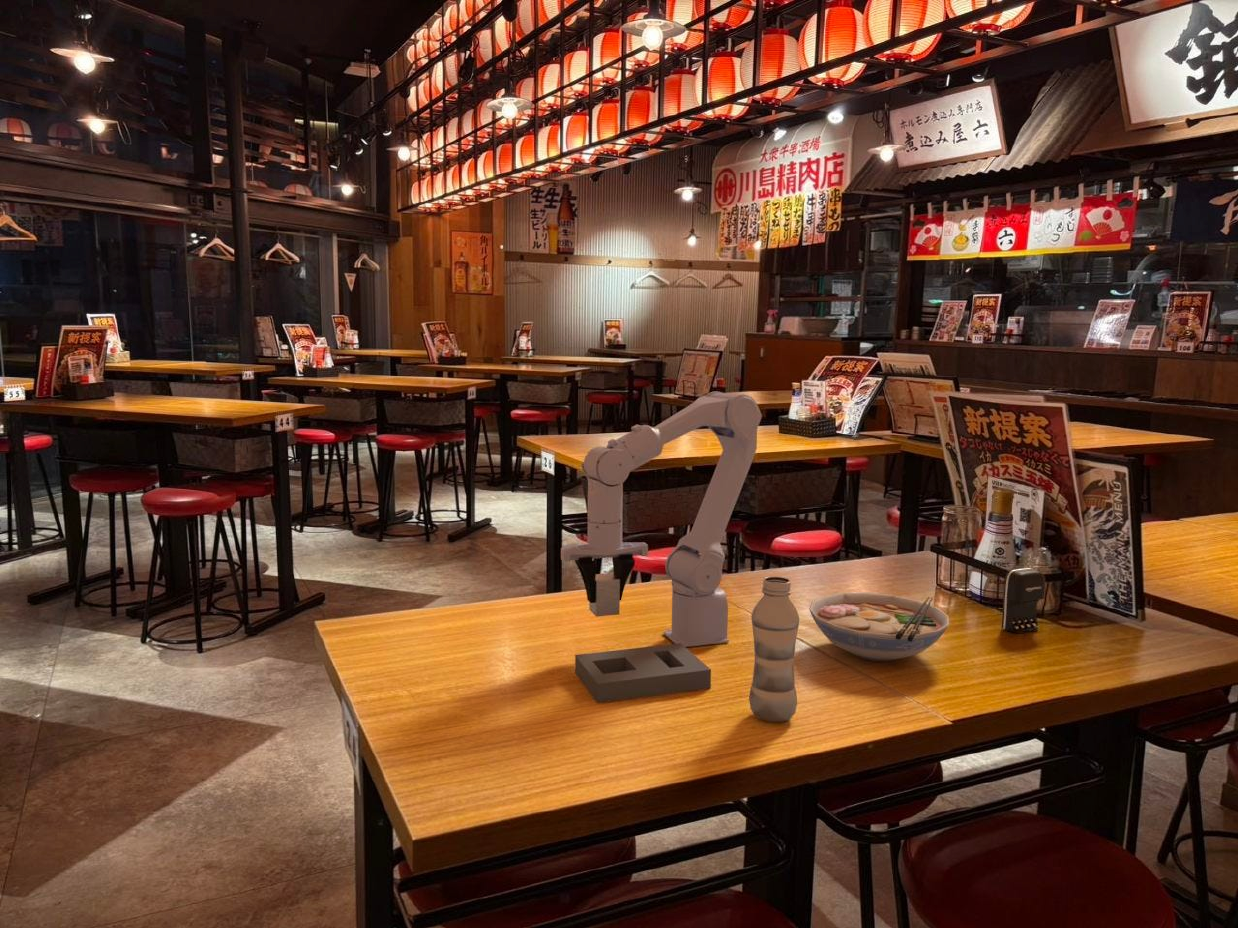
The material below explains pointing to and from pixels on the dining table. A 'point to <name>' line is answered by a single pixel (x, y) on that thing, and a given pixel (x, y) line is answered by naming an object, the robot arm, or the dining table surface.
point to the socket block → (641, 672)
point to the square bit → (606, 595)
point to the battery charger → (1022, 599)
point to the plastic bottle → (774, 652)
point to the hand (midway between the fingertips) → (604, 600)
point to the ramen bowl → (879, 624)
